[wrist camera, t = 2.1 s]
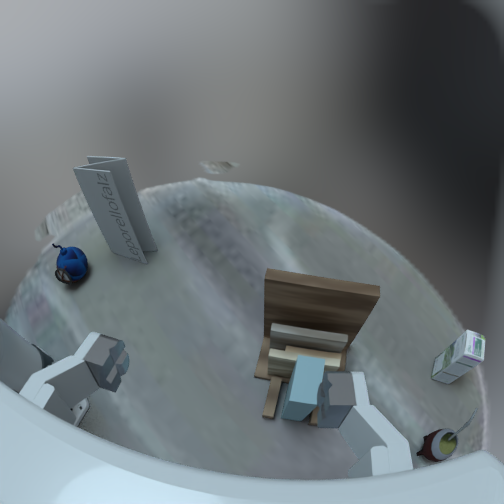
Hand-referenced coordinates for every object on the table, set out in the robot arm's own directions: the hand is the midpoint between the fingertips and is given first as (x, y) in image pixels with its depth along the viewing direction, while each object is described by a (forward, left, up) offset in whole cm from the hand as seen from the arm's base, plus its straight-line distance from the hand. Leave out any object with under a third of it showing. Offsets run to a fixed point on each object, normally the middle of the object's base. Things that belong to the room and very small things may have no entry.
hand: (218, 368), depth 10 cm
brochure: (+39, +45, -46) cm, 75 cm away
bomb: (+26, +59, -46) cm, 79 cm away
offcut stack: (+16, -6, -45) cm, 48 cm away
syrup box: (+19, -40, -46) cm, 64 cm away
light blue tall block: (+9, -6, -46) cm, 47 cm away
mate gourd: (+1, -37, -46) cm, 59 cm away
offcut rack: (+14, -6, -46) cm, 49 cm away
